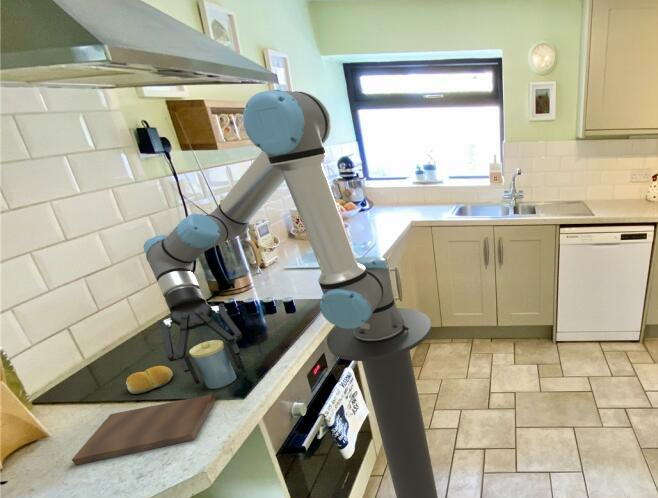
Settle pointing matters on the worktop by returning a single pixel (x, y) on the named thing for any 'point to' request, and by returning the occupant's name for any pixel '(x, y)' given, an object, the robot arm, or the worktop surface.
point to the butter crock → (213, 363)
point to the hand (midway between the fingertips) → (218, 374)
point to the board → (146, 429)
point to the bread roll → (148, 379)
